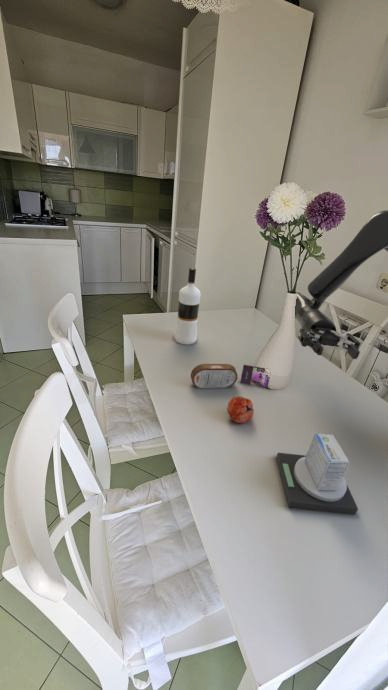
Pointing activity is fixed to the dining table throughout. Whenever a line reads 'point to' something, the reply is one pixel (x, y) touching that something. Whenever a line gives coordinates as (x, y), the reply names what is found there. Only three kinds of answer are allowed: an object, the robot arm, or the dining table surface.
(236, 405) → the pomegranate
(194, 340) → the vodka
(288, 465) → the kitchen scale
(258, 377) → the purple box
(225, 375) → the tin
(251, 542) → the dining table surface
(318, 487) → the medicine box
